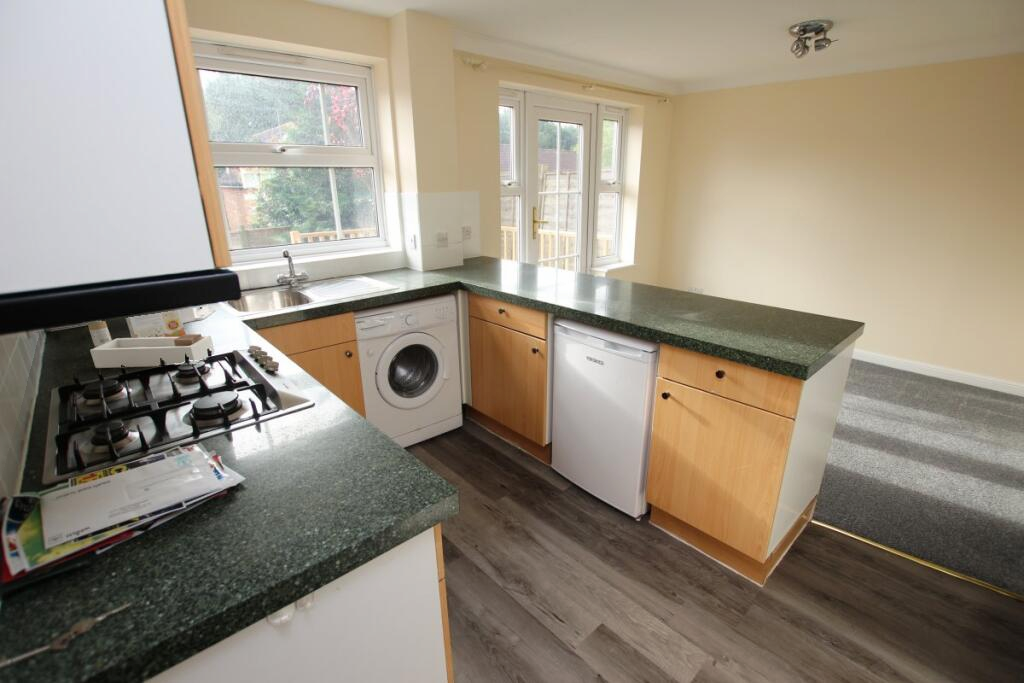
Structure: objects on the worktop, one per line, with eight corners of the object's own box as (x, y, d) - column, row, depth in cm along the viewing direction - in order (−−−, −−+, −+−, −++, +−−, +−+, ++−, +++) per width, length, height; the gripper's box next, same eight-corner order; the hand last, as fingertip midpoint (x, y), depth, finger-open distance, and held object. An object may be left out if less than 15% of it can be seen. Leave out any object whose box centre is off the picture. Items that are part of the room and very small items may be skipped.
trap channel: (95, 367, 136) (89, 350, 134) (122, 355, 146) (116, 338, 144) (195, 364, 137) (190, 347, 135) (214, 352, 147) (210, 335, 145)
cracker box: (180, 332, 167) (165, 274, 160) (186, 336, 163) (171, 276, 156) (132, 343, 157) (113, 281, 150) (137, 347, 153) (119, 283, 146)
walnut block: (187, 347, 143) (184, 334, 142) (204, 346, 143) (201, 334, 142) (177, 352, 138) (173, 339, 137) (194, 352, 139) (191, 339, 137)
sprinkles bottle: (115, 350, 150) (103, 309, 146) (115, 353, 147) (103, 312, 143) (97, 353, 148) (83, 312, 143) (96, 357, 144) (83, 315, 140)
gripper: (54, 197, 132) (70, 247, 136) (130, 195, 133) (143, 245, 137) (73, 196, 138) (88, 244, 142) (145, 195, 138) (158, 242, 143)
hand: (116, 244), depth 140 cm, fingers closed
